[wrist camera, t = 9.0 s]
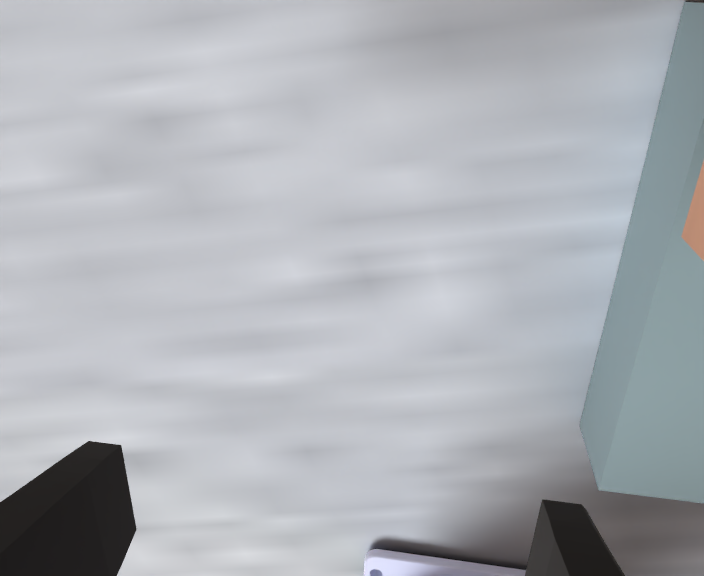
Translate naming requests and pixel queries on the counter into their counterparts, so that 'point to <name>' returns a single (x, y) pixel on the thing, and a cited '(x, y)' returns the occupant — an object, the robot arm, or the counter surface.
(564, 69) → the counter surface
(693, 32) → the socket block
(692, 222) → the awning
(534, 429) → the counter surface
